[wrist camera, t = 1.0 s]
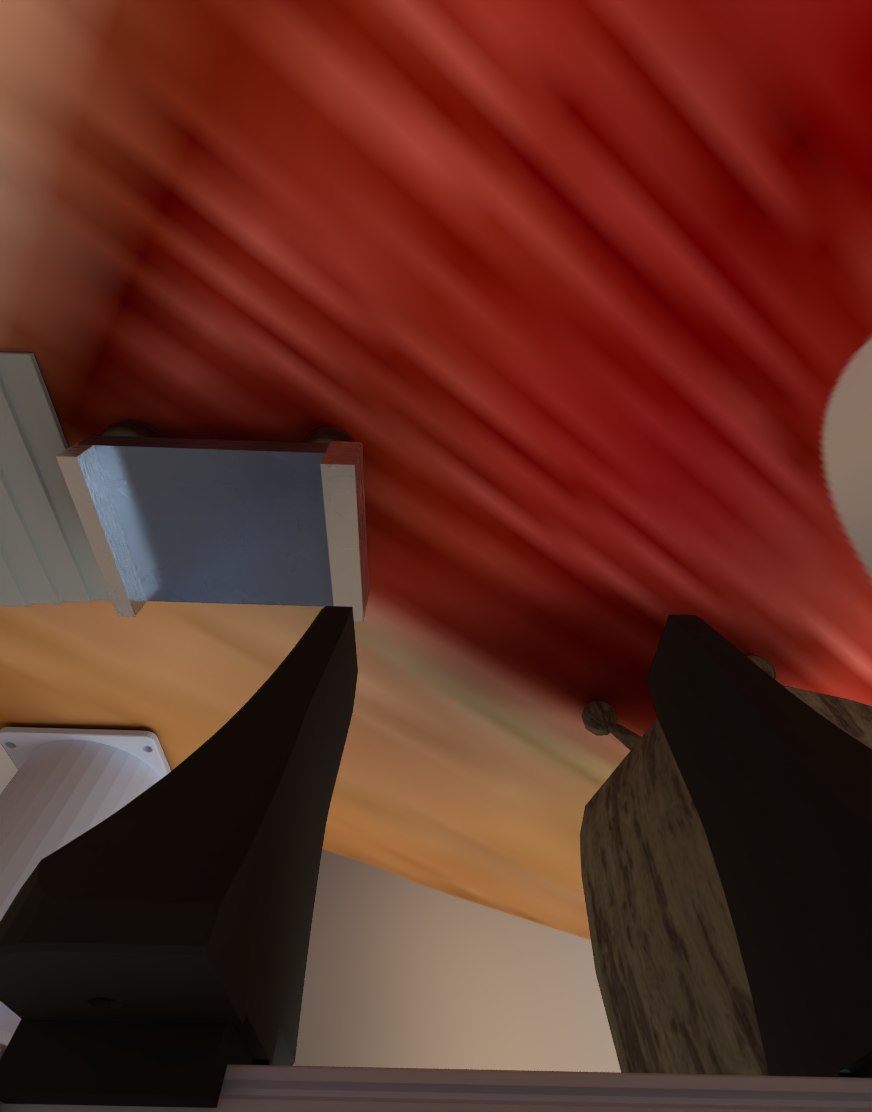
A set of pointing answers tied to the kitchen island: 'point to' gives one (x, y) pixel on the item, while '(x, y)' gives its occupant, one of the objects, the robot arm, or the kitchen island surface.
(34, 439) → the loading dock
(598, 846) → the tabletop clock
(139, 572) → the trolley
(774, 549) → the kitchen island surface
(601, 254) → the kitchen island surface
